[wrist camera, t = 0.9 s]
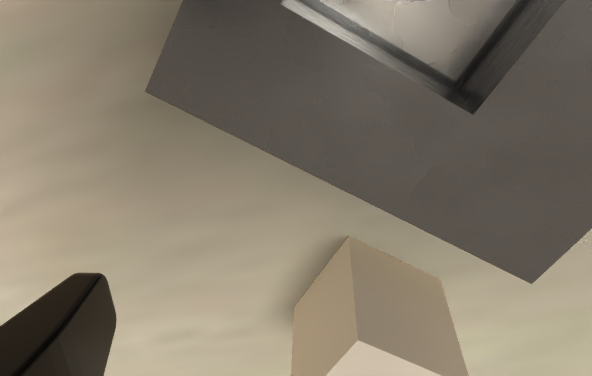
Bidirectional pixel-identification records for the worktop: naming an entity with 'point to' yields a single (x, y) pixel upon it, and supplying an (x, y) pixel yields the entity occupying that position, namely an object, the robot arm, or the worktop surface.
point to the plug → (374, 320)
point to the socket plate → (409, 108)
